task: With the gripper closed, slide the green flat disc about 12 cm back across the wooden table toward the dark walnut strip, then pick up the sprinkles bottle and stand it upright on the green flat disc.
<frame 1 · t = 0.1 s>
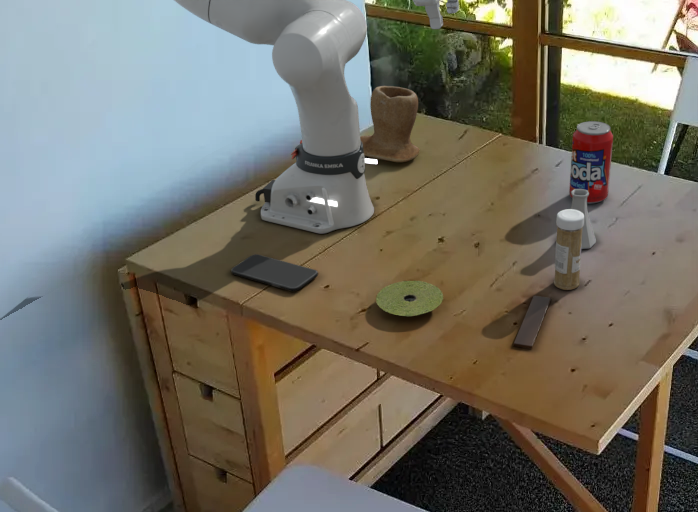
hand: (445, 20, 158), 39 cm above the table, tool pointing down, fingers open, 8 cm apart
walnut strip: (532, 322, 153), on the table
stone cup: (388, 155, 210), on the table
green flat disc: (410, 308, 158), on the table
smartphone: (274, 275, 167), on the table
sprinkles bottle: (566, 285, 163), on the table
flask: (576, 242, 176), on the table
soda can: (588, 198, 190), on the table
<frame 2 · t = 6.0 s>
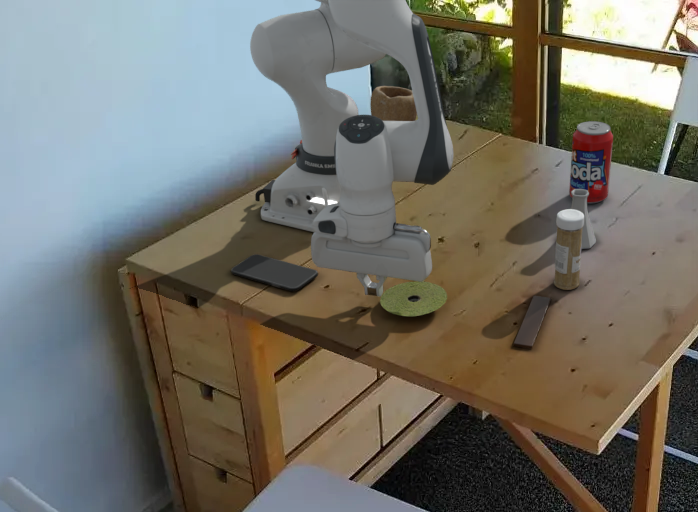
hand: (374, 294, 158), 2 cm above the table, tool pointing down, fingers closed
green flat disc: (414, 308, 157), on the table, touching gripper
everything else where it was.
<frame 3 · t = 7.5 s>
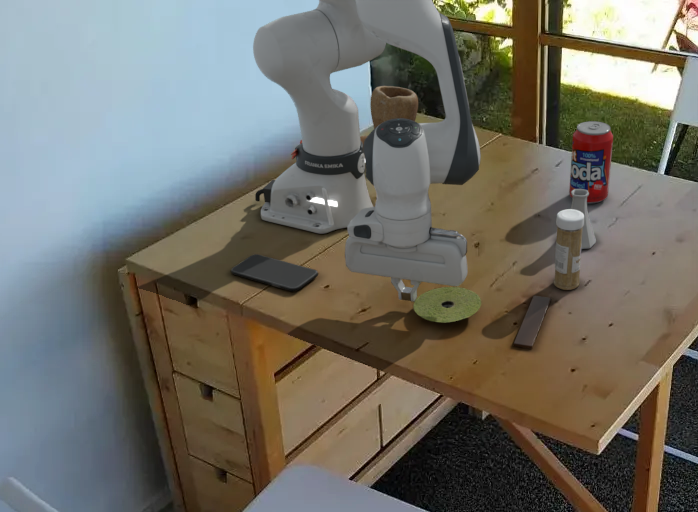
hand: (408, 299, 157), 2 cm above the table, tool pointing down, fingers closed
green flat disc: (448, 314, 156), on the table, touching gripper
everything else where it was.
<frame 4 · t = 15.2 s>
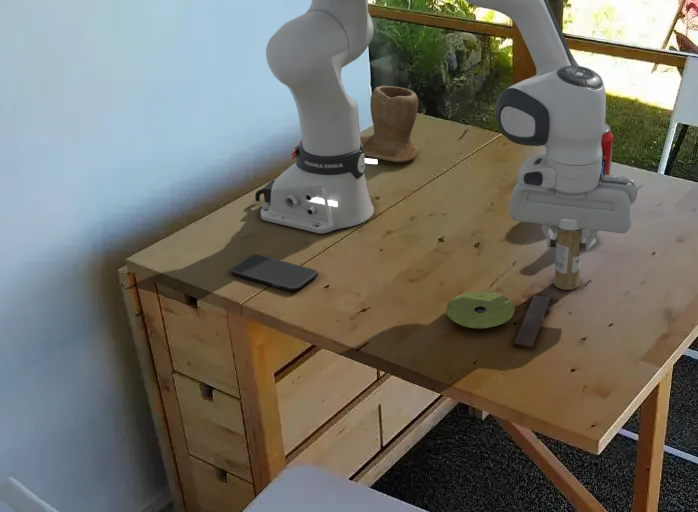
hand: (568, 248, 159), 7 cm above the table, tool pointing down, fingers closed on sprinkles bottle, 4 cm apart
green flat disc: (480, 319, 154), on the table
sprinkles bottle: (566, 285, 163), on the table, touching gripper
everything else where it was.
when the fingers open (9 cm above the table, at t = 21.9 s): sprinkles bottle stays where it is, resting on green flat disc.
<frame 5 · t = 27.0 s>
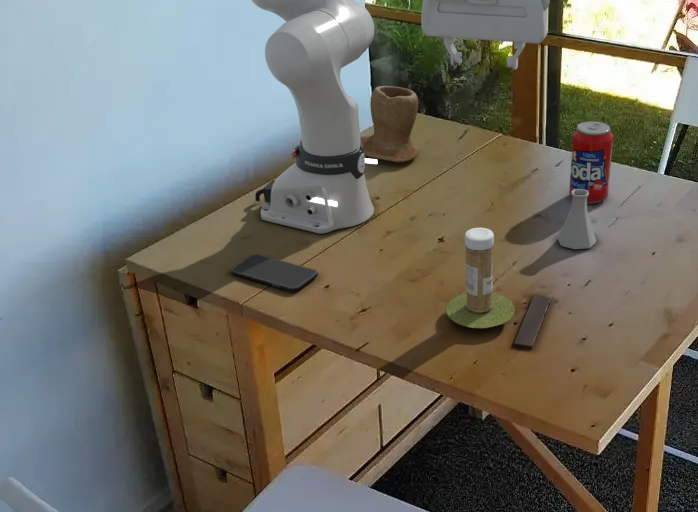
hand: (484, 66, 153), 34 cm above the table, tool pointing down, fingers open, 8 cm apart
green flat disc: (480, 319, 154), on the table, touching sprinkles bottle
sprinkles bottle: (479, 307, 154), point 2 cm above the table, touching green flat disc
everything else where it was.
at the end: green flat disc inside the target area (0.5 cm from its centre), on the table; sprinkles bottle inside the target area on the green flat disc (0.6 cm from its centre), point 2.0 cm above the green flat disc's base; sprinkles bottle tilted 0° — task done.
